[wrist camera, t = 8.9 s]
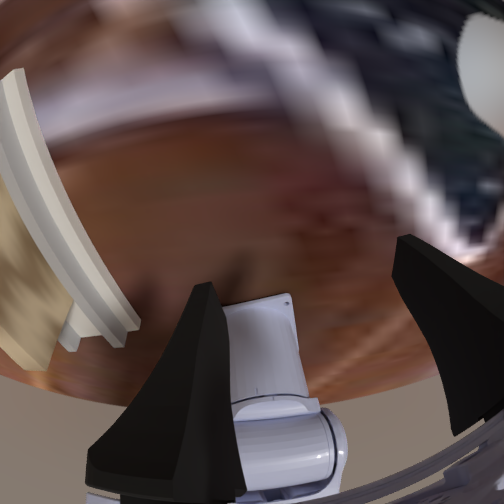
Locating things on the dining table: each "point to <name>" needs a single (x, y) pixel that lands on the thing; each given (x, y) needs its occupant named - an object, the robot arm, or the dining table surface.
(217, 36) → the dining table surface
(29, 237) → the oak frame
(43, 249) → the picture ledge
